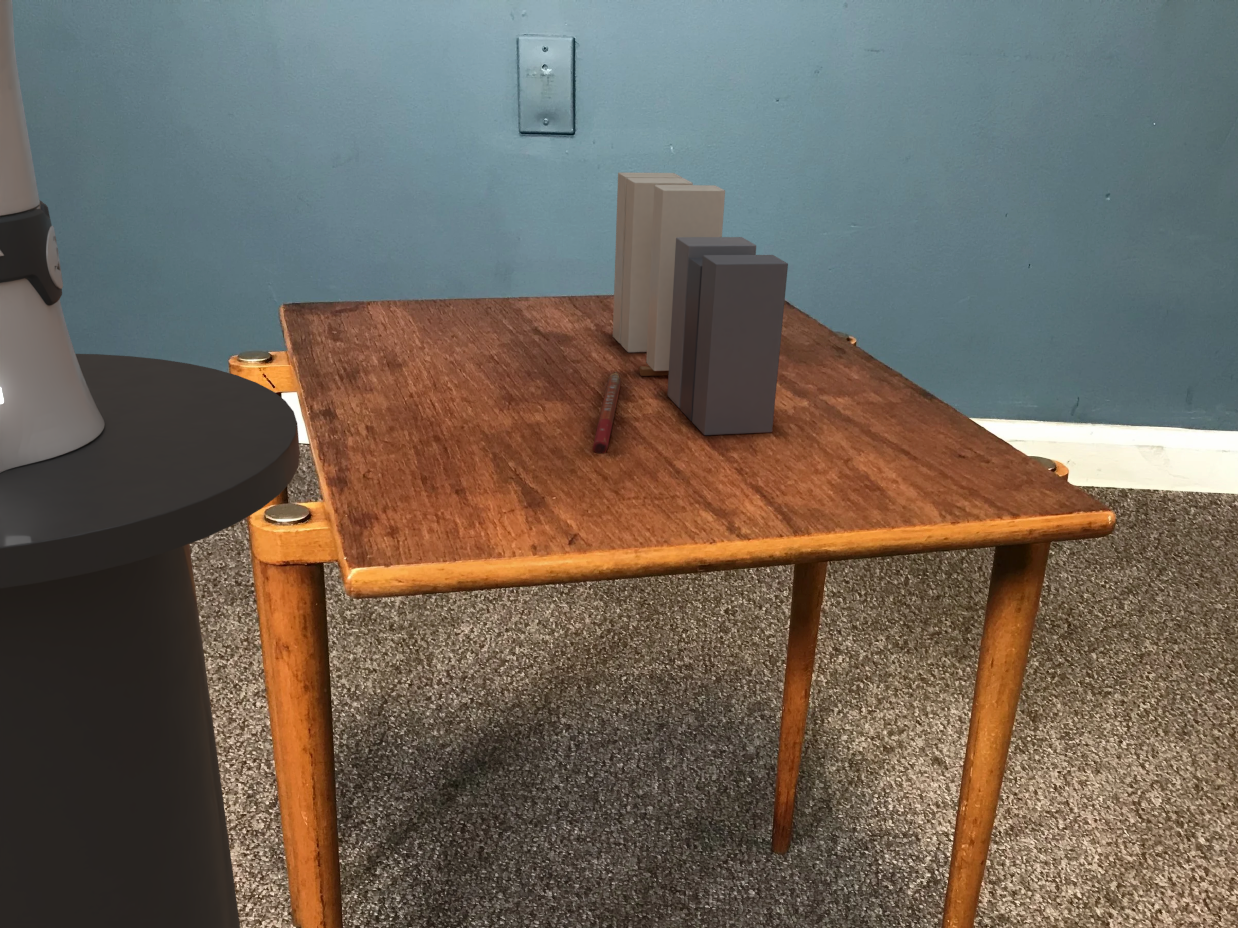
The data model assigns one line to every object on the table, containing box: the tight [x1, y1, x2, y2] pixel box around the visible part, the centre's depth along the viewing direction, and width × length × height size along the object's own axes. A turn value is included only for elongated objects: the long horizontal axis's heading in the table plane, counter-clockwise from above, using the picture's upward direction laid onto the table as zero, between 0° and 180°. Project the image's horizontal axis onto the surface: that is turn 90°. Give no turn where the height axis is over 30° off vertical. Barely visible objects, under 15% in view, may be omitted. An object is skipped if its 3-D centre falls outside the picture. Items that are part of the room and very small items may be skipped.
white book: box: [645, 184, 726, 371], centre depth 101 cm, size 5×2×14 cm, turn 105°
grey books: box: [667, 236, 789, 436], centre depth 93 cm, size 5×10×12 cm, turn 15°
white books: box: [612, 171, 694, 377], centre depth 106 cm, size 6×13×14 cm, turn 15°
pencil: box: [592, 371, 622, 454], centre depth 95 cm, size 19×1×1 cm, turn 178°
